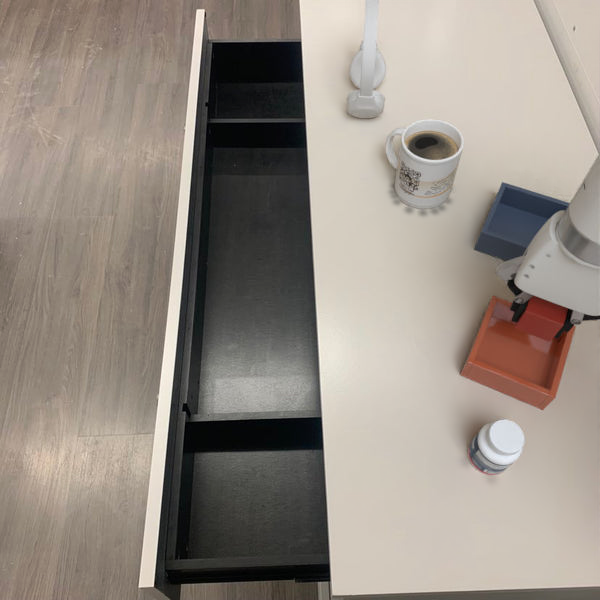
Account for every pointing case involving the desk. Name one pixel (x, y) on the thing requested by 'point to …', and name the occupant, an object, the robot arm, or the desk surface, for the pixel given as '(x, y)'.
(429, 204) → the mug
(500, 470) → the pill bottle
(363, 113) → the headphones
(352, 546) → the desk surface
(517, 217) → the slate bin
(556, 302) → the robot arm
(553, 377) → the terracotta bin
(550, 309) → the red block
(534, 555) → the desk surface
